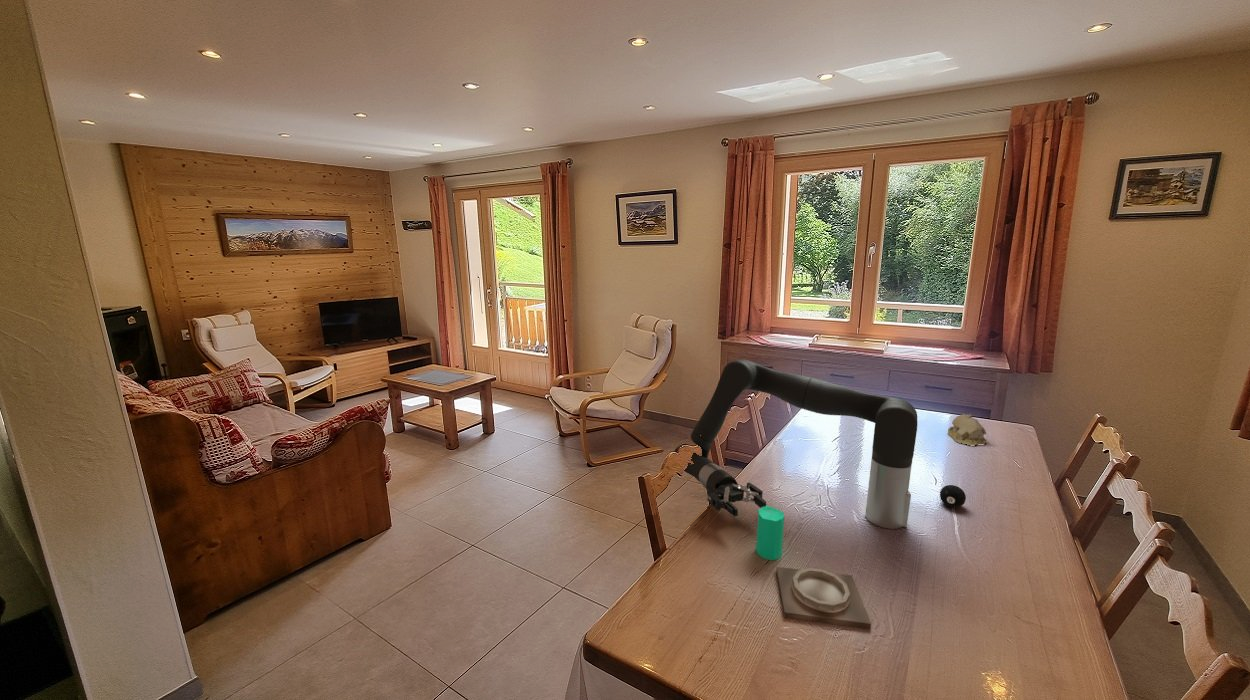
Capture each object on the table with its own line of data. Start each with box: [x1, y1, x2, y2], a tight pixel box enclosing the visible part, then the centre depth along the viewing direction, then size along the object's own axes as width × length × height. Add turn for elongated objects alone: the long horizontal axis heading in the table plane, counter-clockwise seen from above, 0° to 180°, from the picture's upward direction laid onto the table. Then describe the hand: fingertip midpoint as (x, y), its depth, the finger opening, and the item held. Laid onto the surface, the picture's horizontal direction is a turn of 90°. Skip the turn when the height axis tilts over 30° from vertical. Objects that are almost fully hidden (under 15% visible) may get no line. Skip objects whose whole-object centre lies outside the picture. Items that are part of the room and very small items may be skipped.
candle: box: [755, 505, 785, 561], centre depth 114 cm, size 6×6×12 cm
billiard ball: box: [939, 484, 967, 508], centre depth 135 cm, size 6×6×6 cm
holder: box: [775, 566, 872, 630], centre depth 100 cm, size 16×14×3 cm
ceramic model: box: [947, 413, 987, 446], centre depth 180 cm, size 14×11×10 cm
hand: (751, 509), depth 121 cm, fingers open, 8 cm apart
